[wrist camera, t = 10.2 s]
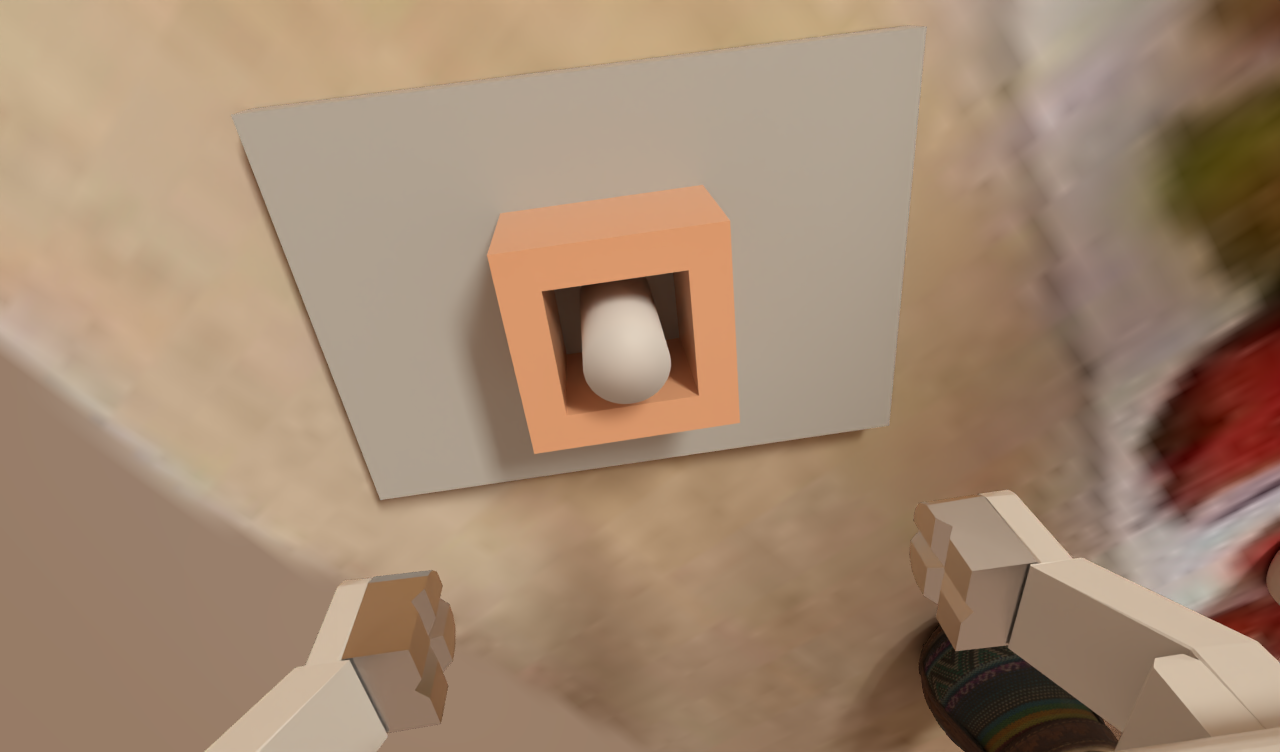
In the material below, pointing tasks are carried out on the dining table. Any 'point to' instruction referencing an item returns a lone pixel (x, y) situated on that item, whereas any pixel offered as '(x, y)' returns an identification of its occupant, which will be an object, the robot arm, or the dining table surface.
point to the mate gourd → (1004, 703)
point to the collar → (609, 251)
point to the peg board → (588, 144)
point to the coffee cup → (1274, 578)
